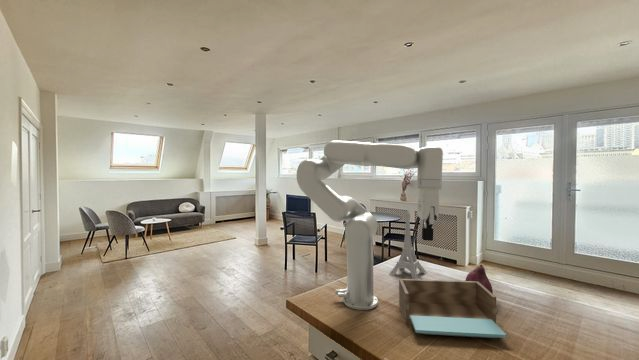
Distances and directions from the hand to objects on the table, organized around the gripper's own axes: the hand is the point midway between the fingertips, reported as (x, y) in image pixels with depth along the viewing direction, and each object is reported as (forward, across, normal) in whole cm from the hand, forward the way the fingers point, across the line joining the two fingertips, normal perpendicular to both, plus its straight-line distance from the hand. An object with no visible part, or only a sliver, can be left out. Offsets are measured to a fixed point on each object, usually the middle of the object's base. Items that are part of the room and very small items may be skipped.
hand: (427, 239), depth 90 cm
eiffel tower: (+26, -38, +1) cm, 46 cm away
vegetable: (+25, -15, +22) cm, 37 cm away
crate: (+25, 0, +6) cm, 26 cm away
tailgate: (+23, +6, +6) cm, 25 cm away
